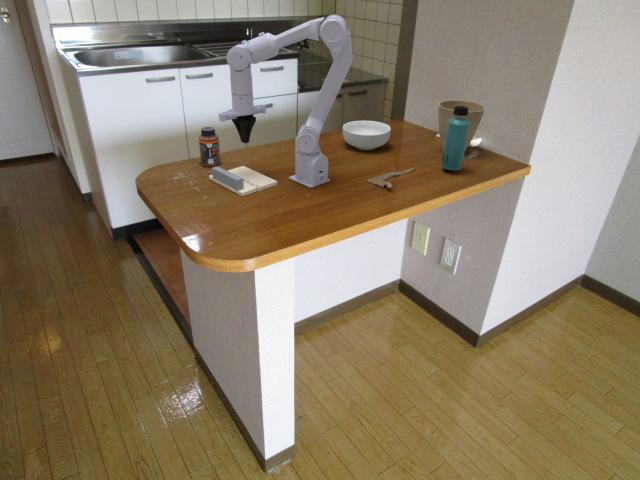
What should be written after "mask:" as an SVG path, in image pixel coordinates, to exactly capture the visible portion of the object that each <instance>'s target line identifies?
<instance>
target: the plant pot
mask: <svg viewBox="0 0 640 480" xmlns="http://www.w3.org/2000/svg"><path fill="white" fill-rule="evenodd" d="M456 106H465V107H468V115H467V116H458V115H455V114H453V112H454V109H455V107H456ZM485 109H486V107H485V106H484V105H482V104H480V103H478V102H474V101H468V100H458V99H452V100H451V99H449V100H442V101H440V102H438V110H437V111H438V115H437V117H438V119H437V120H438V134H439V139H440V146H441V150H442V153H443V152H444V146H445V140H446V139H445V138H446V133H447V128H448V121H449V120H450V119H451V118H453V117H464V118H466V119H467V120H468V121H469V122H470V125H469V130H468V135H467V140H466V147H465V152H466V151H467V149H468V148H469V145H470V144H471V142H472V141H473V138H474V136H475V134H476V133H477V130H478V128H479V126H480V123H481V121H482V119H483V116H484V113H485Z"/></svg>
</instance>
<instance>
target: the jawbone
mask: <svg viewBox="0 0 640 480" xmlns="http://www.w3.org/2000/svg"><path fill="white" fill-rule="evenodd" d="M413 171H415V168H413V167H412V168H408V169H406V170H403V171H394V172H393V171H392V172H391V171H390V172H387V173H383V174H381V175H380V174H379V175H377V176H374V177H372V178H371V177H370V178H368V179H367V180H366V182H367V184H370V185H371V184H372V185H375V186H379V187H381V189H382V190H384V189H385V186H387V187H386V188H389V189H392V188H393V184H392V183H391V182H390V181H387V180H389V179H391V178H393V177H396V176H401V175H404V174H407V173H410V172H413Z"/></svg>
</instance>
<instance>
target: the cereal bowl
mask: <svg viewBox="0 0 640 480" xmlns="http://www.w3.org/2000/svg"><path fill="white" fill-rule="evenodd" d="M391 129H392V128H391V126H390V125H389V124H386V123H384V122H380V121H376V120H354V121H353V120H352V121H348V122H347V123H345V124H343V125H342V136H343V140H344V141H345V142H346V143H347V144H349V145H350V146H352V147H355V148H356V149H357V150H361V151H373V150H375V149H377V148H379V147H382V146H384V145H385V144H386V143H387V142H388V141H389V140H390V137H391Z"/></svg>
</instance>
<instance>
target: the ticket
mask: <svg viewBox="0 0 640 480" xmlns="http://www.w3.org/2000/svg"><path fill="white" fill-rule="evenodd" d="M227 171H229V172H231V173H233V174H235V175H237V176H239V177H241V178H243V181H244V182H246V183H248V184H250V185H252V186H254V187H256V188H257V192H260V191H263V190H266V189H269V188H271V187H274V186H277V185H278V181H277V180H275V179H273V178H271V177H269V176H266V175H264V174H262V173H260V172H258V171H256V170H254V169H251V168H249V167H247V166H245V165H242V166H238V167H234V168H232V169H228V170H227Z"/></svg>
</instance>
